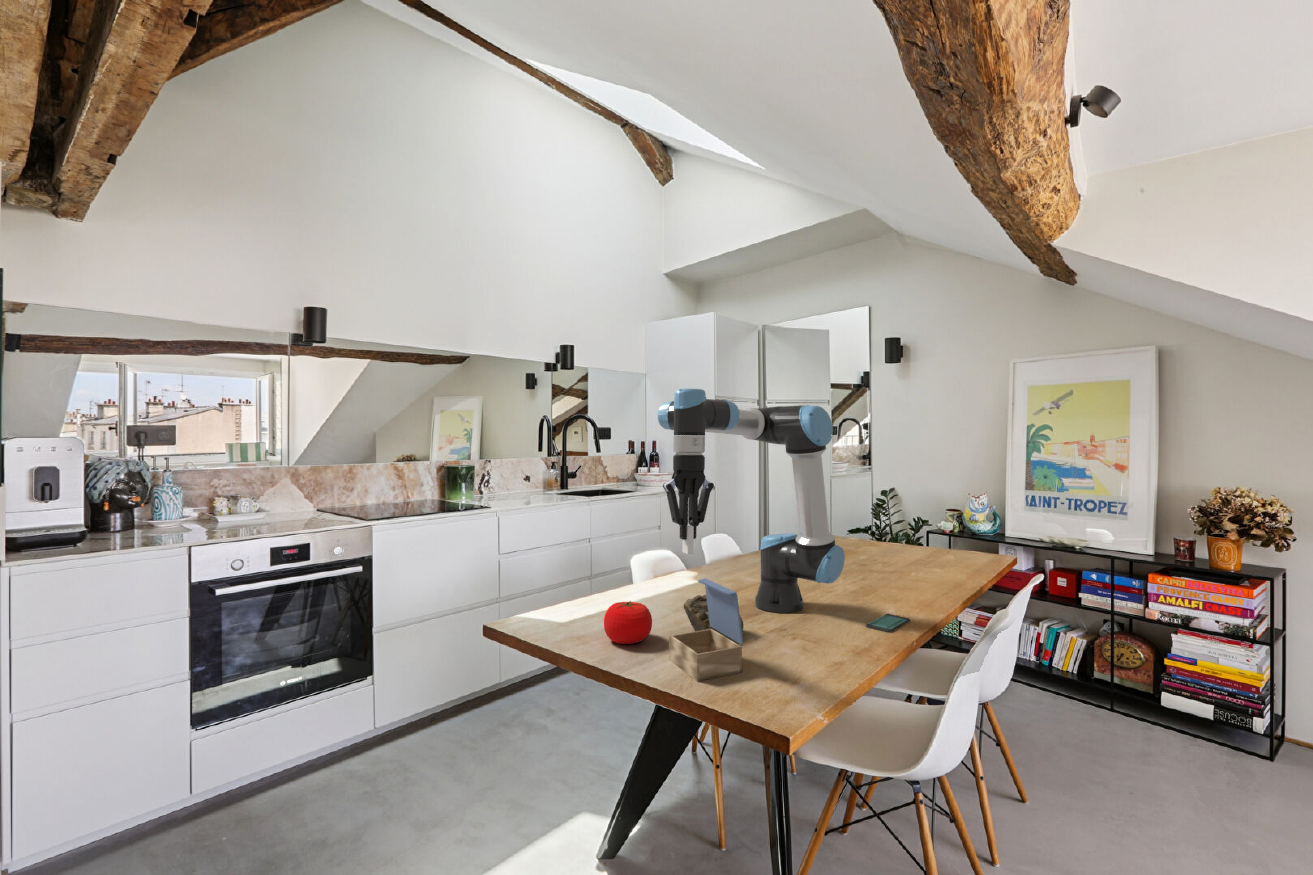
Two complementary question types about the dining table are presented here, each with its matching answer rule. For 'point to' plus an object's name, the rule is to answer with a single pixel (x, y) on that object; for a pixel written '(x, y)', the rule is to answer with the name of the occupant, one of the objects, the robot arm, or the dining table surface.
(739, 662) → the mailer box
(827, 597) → the dining table surface
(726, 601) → the lid
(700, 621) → the stone
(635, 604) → the tomato
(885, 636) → the dining table surface
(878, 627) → the smartphone
